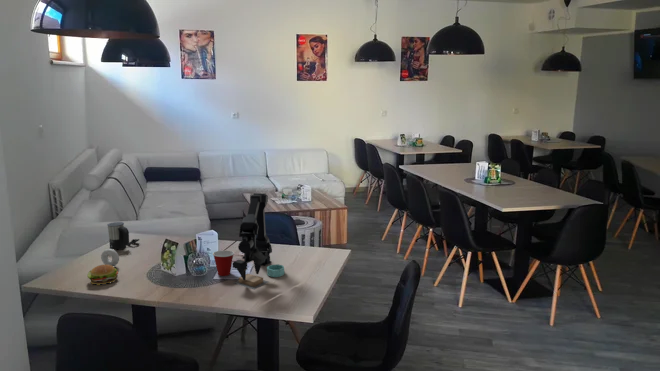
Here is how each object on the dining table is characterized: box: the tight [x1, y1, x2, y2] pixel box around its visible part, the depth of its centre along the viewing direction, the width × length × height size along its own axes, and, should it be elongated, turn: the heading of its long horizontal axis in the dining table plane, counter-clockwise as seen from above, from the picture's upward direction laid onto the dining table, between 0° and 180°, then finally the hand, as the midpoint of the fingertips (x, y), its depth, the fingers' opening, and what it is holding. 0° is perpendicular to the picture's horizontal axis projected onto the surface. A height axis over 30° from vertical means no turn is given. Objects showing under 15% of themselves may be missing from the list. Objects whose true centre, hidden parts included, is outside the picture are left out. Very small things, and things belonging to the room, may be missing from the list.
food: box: [87, 264, 119, 286], centre depth 243 cm, size 14×14×8 cm
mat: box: [233, 279, 269, 290], centre depth 240 cm, size 14×11×1 cm
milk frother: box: [106, 221, 140, 250], centre depth 295 cm, size 14×16×15 cm
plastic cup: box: [212, 250, 235, 277], centre depth 250 cm, size 11×11×12 cm
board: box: [238, 273, 264, 287], centre depth 240 cm, size 10×6×2 cm, turn 56°
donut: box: [100, 248, 120, 267], centre depth 262 cm, size 10×4×10 cm, turn 78°
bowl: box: [266, 263, 285, 278], centre depth 250 cm, size 8×8×4 cm
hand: (250, 277), depth 239 cm, fingers open, 9 cm apart
